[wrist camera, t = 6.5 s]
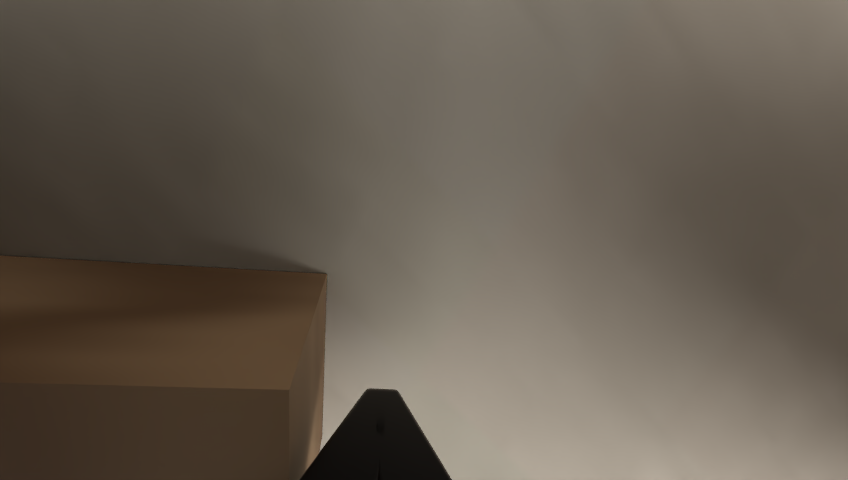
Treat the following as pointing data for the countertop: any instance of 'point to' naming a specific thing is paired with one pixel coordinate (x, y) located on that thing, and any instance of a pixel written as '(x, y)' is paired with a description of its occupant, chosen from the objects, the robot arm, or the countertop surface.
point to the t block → (158, 371)
